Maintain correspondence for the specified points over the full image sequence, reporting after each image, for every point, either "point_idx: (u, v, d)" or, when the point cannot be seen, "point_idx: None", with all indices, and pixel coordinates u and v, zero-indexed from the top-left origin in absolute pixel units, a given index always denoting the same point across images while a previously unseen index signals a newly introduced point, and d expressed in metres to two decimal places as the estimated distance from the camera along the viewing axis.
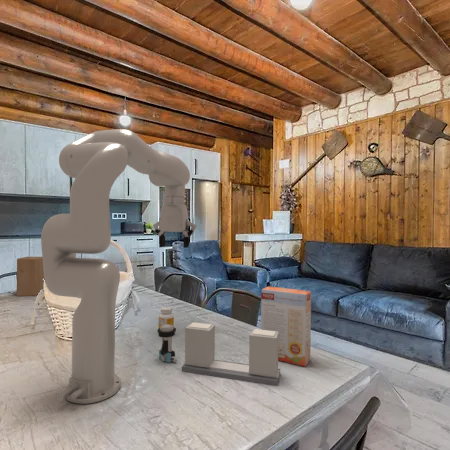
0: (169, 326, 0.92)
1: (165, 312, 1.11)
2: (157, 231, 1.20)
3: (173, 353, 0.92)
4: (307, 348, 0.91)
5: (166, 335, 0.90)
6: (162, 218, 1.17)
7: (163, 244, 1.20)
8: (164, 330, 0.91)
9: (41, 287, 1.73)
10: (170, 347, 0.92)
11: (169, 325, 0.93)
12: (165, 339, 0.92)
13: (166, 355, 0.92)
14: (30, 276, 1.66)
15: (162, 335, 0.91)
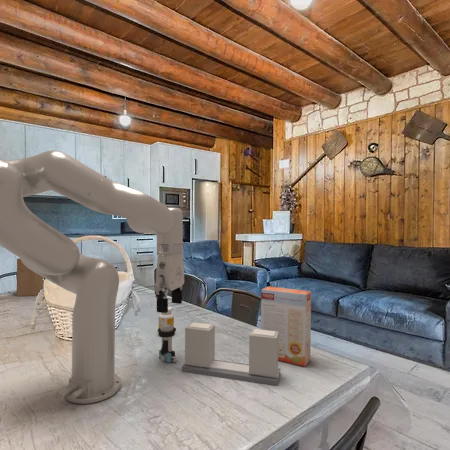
0: (169, 326, 0.93)
1: None
2: (162, 293, 0.86)
3: (173, 353, 0.92)
4: (307, 348, 0.91)
5: (166, 335, 0.90)
6: (172, 273, 0.88)
7: None
8: (164, 330, 0.91)
9: (41, 287, 1.73)
10: (170, 347, 0.92)
11: (169, 325, 0.93)
12: (165, 339, 0.92)
13: (166, 355, 0.92)
14: (30, 276, 1.66)
15: (162, 335, 0.91)
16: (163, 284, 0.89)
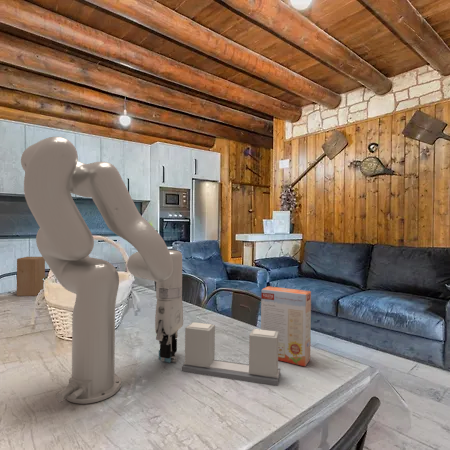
0: None
1: None
2: (165, 340, 0.89)
3: (173, 353, 0.92)
4: (307, 348, 0.91)
5: None
6: (171, 318, 0.88)
7: None
8: None
9: (41, 287, 1.73)
10: None
11: None
12: None
13: None
14: (30, 276, 1.66)
15: None
16: None
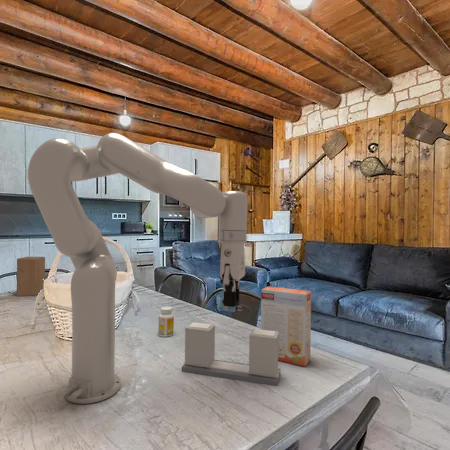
0: None
1: (165, 312, 1.11)
2: (231, 286, 0.82)
3: (237, 302, 0.85)
4: (307, 348, 0.91)
5: (231, 282, 0.83)
6: (238, 262, 0.81)
7: None
8: None
9: (41, 287, 1.73)
10: None
11: None
12: None
13: None
14: (30, 276, 1.66)
15: None
16: None
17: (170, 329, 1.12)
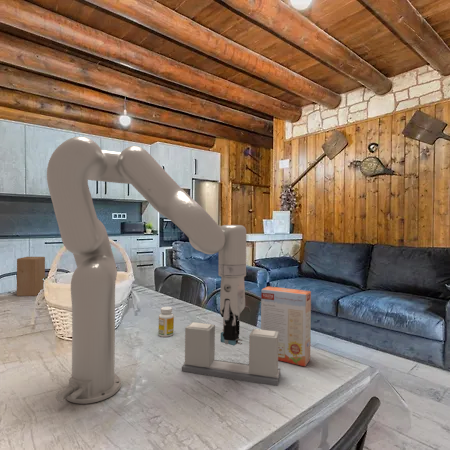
0: None
1: (165, 312, 1.11)
2: (231, 320, 0.82)
3: (237, 335, 0.85)
4: (307, 348, 0.91)
5: (231, 316, 0.83)
6: (238, 297, 0.81)
7: None
8: None
9: (41, 287, 1.73)
10: None
11: None
12: None
13: None
14: (30, 276, 1.66)
15: None
16: None
17: (170, 329, 1.12)
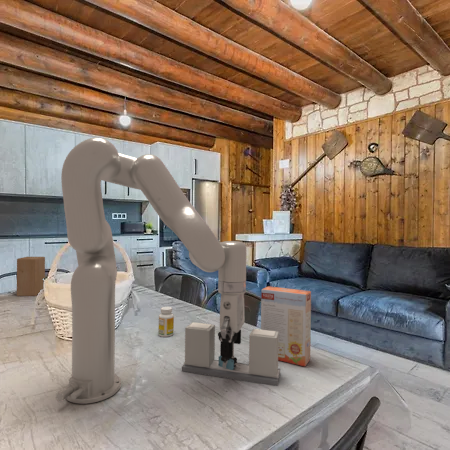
0: None
1: (165, 312, 1.11)
2: None
3: (235, 360, 0.85)
4: (307, 348, 0.91)
5: None
6: (238, 314, 0.81)
7: None
8: None
9: (41, 287, 1.73)
10: None
11: (230, 329, 0.86)
12: None
13: (228, 362, 0.84)
14: (30, 276, 1.66)
15: None
16: None
17: (170, 329, 1.12)
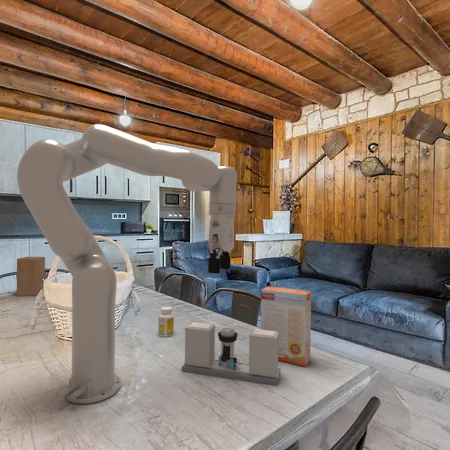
0: (230, 330, 0.85)
1: (165, 312, 1.11)
2: (215, 252, 0.83)
3: (235, 360, 0.85)
4: (307, 348, 0.91)
5: (229, 340, 0.83)
6: (226, 233, 0.85)
7: None
8: (226, 335, 0.84)
9: (41, 287, 1.73)
10: (232, 353, 0.84)
11: (230, 329, 0.86)
12: (226, 344, 0.85)
13: (228, 362, 0.84)
14: (30, 276, 1.66)
15: (225, 340, 0.83)
16: (215, 245, 0.86)
17: (170, 329, 1.12)
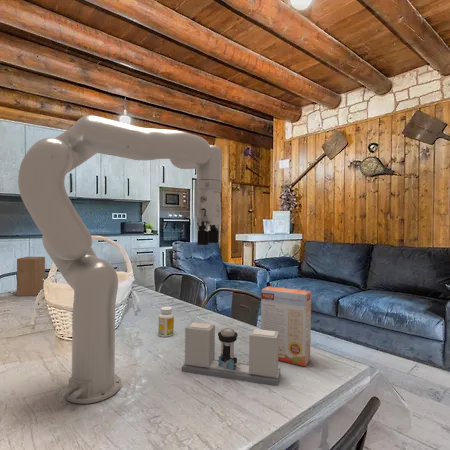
0: (230, 330, 0.85)
1: (165, 312, 1.11)
2: (203, 225, 0.89)
3: (235, 360, 0.85)
4: (307, 348, 0.91)
5: (229, 340, 0.83)
6: (213, 207, 0.91)
7: None
8: (226, 335, 0.84)
9: (41, 287, 1.73)
10: (232, 353, 0.84)
11: (230, 329, 0.86)
12: (226, 344, 0.84)
13: (228, 362, 0.84)
14: (30, 276, 1.66)
15: (225, 340, 0.83)
16: (203, 219, 0.92)
17: (170, 329, 1.12)
